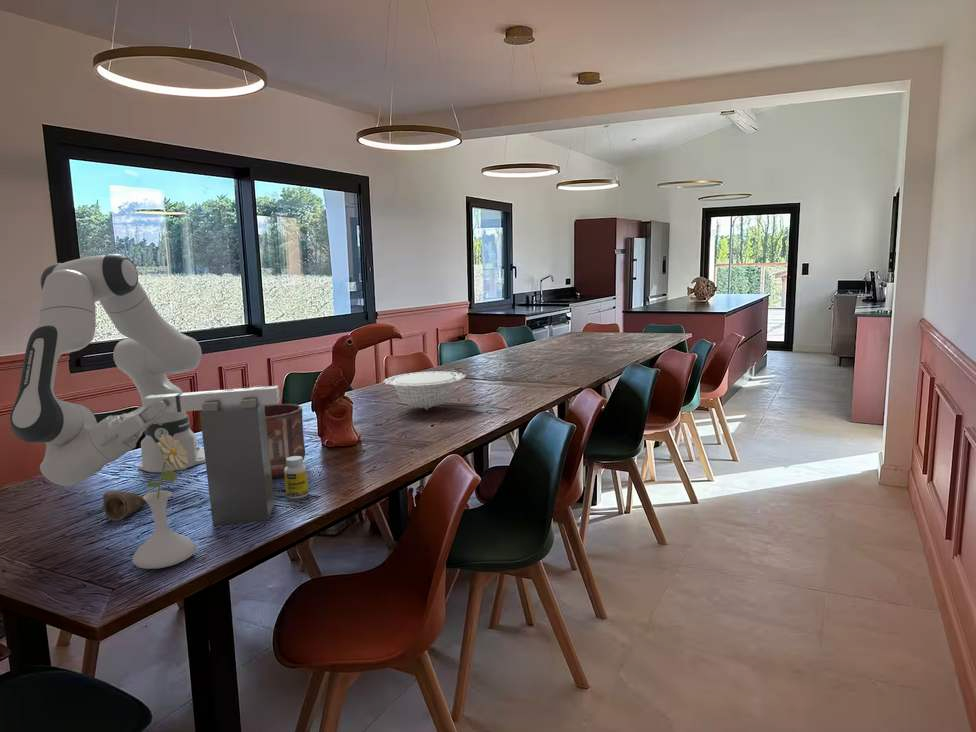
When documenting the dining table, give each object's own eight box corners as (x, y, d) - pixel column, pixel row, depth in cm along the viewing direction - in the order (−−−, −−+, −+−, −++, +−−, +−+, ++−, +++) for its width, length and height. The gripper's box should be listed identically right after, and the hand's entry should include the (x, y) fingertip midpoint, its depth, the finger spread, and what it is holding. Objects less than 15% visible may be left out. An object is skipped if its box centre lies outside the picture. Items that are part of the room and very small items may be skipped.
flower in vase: (163, 578, 123) (146, 448, 119) (119, 570, 127) (101, 445, 124) (215, 549, 135) (201, 430, 131) (173, 543, 139) (159, 428, 136)
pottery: (243, 468, 191) (237, 407, 188) (306, 460, 196) (300, 401, 193) (240, 486, 174) (233, 420, 172) (309, 477, 180) (303, 413, 177)
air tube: (150, 411, 148) (148, 395, 148) (279, 400, 153) (278, 385, 153) (145, 414, 145) (143, 398, 144) (277, 404, 150) (276, 388, 149)
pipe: (117, 481, 169) (76, 487, 160) (157, 489, 161) (116, 496, 152) (116, 506, 169) (76, 513, 160) (156, 515, 161) (115, 524, 152)
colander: (368, 413, 256) (366, 381, 254) (426, 398, 279) (424, 368, 277) (426, 423, 235) (424, 388, 233) (484, 406, 259) (482, 374, 257)
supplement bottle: (286, 500, 162) (282, 462, 161) (286, 493, 167) (282, 456, 166) (309, 497, 164) (305, 459, 162) (308, 490, 169) (305, 453, 167)
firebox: (220, 510, 157) (207, 396, 153) (274, 504, 160) (262, 392, 155) (211, 526, 148) (197, 405, 143) (268, 520, 150) (256, 400, 146)
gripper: (87, 436, 135) (145, 398, 136) (122, 414, 155) (173, 381, 156) (107, 460, 136) (165, 422, 138) (139, 436, 156) (189, 403, 157)
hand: (169, 400), depth 147 cm, fingers open, 6 cm apart
